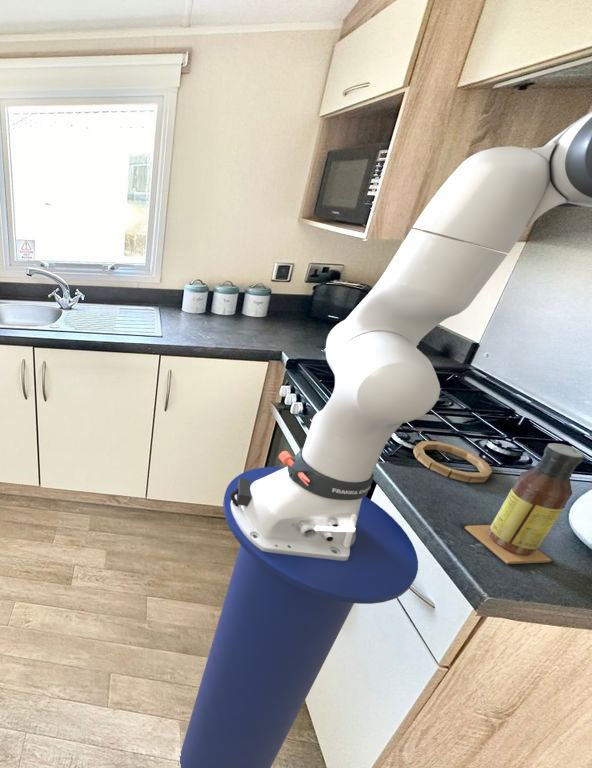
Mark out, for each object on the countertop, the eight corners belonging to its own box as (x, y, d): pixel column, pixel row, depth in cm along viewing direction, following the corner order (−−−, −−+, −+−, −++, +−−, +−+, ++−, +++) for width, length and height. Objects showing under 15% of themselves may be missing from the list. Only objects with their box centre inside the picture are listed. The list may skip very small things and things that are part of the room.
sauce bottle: (537, 547, 72) (605, 455, 63) (528, 563, 69) (599, 468, 60) (489, 523, 77) (546, 434, 68) (478, 537, 73) (537, 446, 65)
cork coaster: (507, 564, 69) (509, 561, 69) (464, 528, 76) (465, 525, 76) (550, 562, 70) (551, 559, 70) (503, 526, 77) (505, 524, 77)
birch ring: (447, 483, 88) (451, 477, 87) (399, 446, 100) (402, 441, 99) (504, 481, 89) (508, 475, 88) (450, 445, 101) (453, 440, 100)
